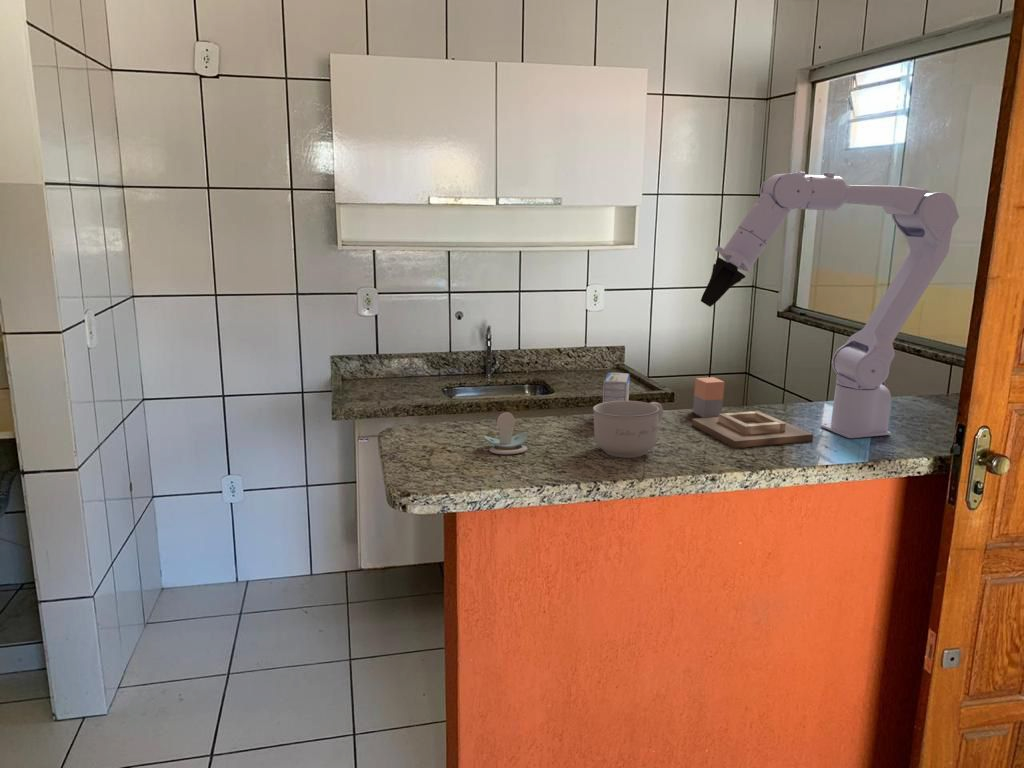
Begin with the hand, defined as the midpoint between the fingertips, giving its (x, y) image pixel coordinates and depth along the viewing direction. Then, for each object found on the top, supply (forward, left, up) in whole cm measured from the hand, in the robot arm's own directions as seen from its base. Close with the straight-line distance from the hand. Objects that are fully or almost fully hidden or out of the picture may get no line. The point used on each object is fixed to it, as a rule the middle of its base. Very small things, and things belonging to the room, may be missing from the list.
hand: (706, 303), depth 134 cm
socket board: (-9, +3, -24) cm, 25 cm away
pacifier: (+37, +1, -24) cm, 44 cm away
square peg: (-8, -10, -24) cm, 27 cm away
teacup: (+17, +7, -24) cm, 30 cm away
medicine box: (+12, -10, -24) cm, 28 cm away
